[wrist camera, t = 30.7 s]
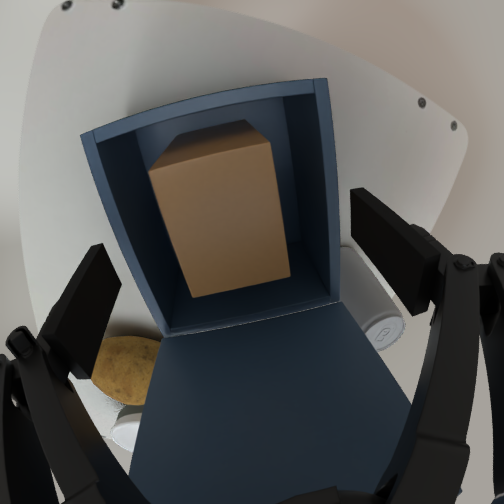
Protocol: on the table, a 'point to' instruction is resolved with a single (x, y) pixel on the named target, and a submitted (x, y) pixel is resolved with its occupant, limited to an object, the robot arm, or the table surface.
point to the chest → (289, 187)
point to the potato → (125, 368)
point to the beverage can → (368, 301)
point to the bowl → (127, 426)
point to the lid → (267, 412)
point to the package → (222, 207)
